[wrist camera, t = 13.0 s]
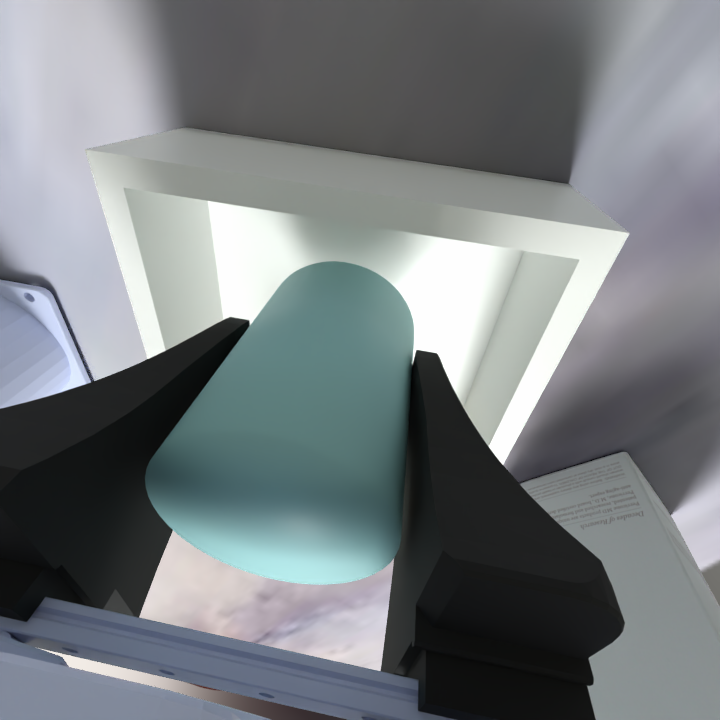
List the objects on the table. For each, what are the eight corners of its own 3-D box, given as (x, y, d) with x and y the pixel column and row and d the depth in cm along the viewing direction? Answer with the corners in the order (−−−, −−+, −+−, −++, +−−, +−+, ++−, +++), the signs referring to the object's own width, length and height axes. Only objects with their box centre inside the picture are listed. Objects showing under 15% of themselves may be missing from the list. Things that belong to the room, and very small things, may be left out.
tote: (233, 444, 24) (194, 516, 20) (185, 127, 14) (85, 149, 10) (444, 485, 24) (446, 567, 20) (569, 183, 13) (629, 232, 9)
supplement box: (495, 488, 23) (543, 801, 13) (627, 446, 20) (830, 832, 10) (549, 545, 26) (623, 839, 16) (674, 518, 22) (869, 875, 12)
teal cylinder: (271, 375, 15) (172, 557, 9) (266, 249, 12) (112, 405, 6) (400, 398, 14) (380, 602, 9) (428, 275, 11) (427, 465, 6)
